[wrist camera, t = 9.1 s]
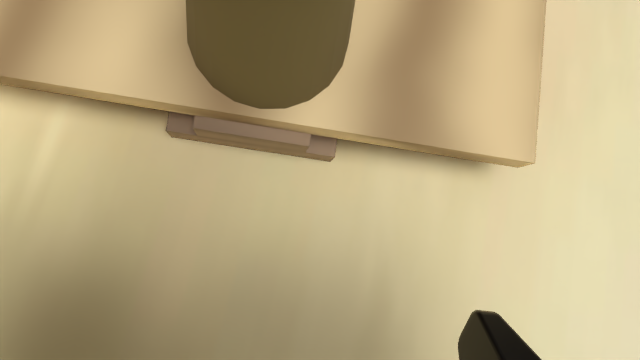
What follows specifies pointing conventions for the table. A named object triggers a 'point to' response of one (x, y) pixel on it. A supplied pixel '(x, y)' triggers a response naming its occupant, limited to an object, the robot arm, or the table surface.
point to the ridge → (250, 136)
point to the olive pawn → (269, 47)
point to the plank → (333, 102)
